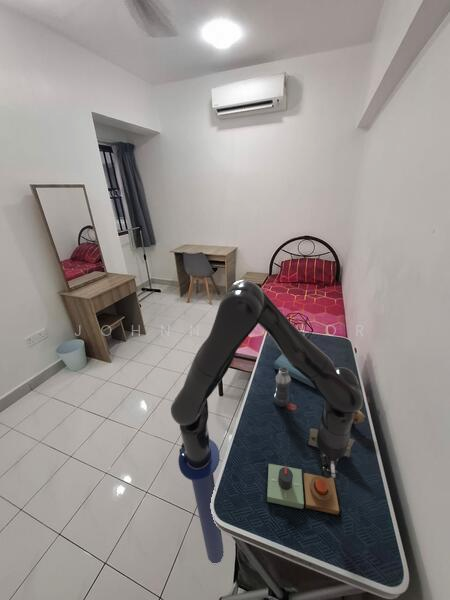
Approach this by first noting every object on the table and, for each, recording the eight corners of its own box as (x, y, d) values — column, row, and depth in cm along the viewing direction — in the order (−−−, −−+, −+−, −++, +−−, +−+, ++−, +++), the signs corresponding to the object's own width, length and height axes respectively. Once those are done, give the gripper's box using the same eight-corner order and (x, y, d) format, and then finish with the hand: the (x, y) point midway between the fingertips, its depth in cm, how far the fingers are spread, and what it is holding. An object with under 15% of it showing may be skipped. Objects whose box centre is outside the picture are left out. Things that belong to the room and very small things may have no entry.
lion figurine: (363, 427, 97) (368, 412, 93) (356, 435, 94) (361, 420, 90) (330, 403, 107) (333, 389, 103) (323, 410, 105) (326, 395, 101)
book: (327, 371, 126) (328, 363, 123) (314, 389, 115) (316, 382, 113) (288, 354, 139) (288, 347, 137) (273, 369, 129) (274, 362, 127)
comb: (307, 447, 91) (309, 430, 86) (307, 441, 93) (310, 424, 88) (350, 460, 86) (355, 443, 81) (349, 454, 88) (354, 436, 83)
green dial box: (267, 501, 76) (267, 496, 75) (268, 468, 85) (268, 463, 84) (303, 509, 74) (304, 504, 73) (300, 474, 83) (301, 469, 81)
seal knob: (292, 491, 76) (293, 483, 74) (278, 488, 77) (278, 480, 74) (291, 476, 80) (292, 467, 77) (278, 473, 80) (278, 465, 78)
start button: (315, 493, 74) (316, 490, 74) (314, 481, 78) (314, 477, 77) (327, 496, 74) (328, 493, 73) (326, 483, 77) (326, 480, 76)
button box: (305, 507, 74) (306, 501, 72) (303, 476, 82) (304, 469, 80) (338, 514, 72) (340, 508, 70) (332, 481, 80) (334, 475, 78)
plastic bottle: (275, 395, 113) (277, 362, 104) (290, 400, 110) (293, 367, 102) (272, 406, 108) (273, 372, 99) (287, 411, 105) (290, 377, 96)
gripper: (315, 410, 71) (309, 446, 78) (322, 457, 58) (314, 495, 66) (342, 413, 69) (333, 450, 77) (355, 463, 57) (343, 501, 65)
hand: (324, 471), depth 71 cm, fingers closed
